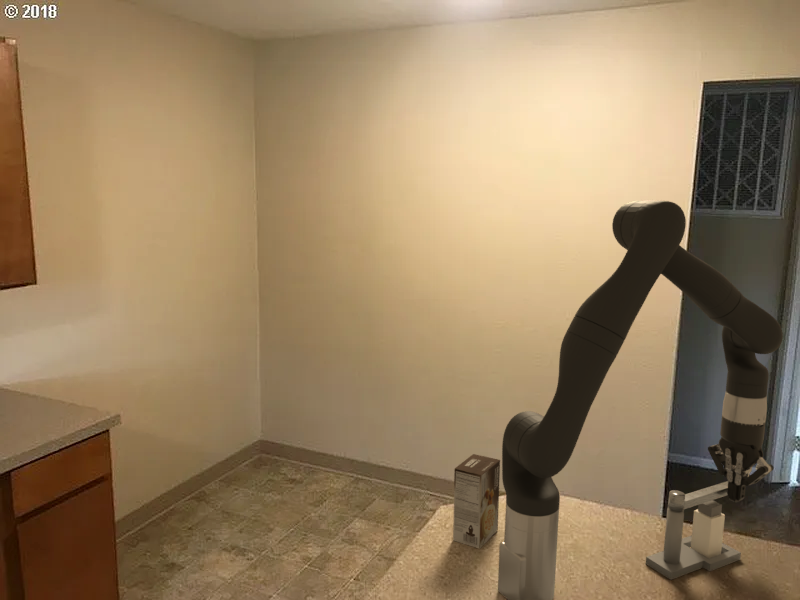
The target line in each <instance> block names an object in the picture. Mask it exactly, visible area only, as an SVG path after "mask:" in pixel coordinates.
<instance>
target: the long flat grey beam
mask: <svg viewBox="0 0 800 600" xmlns="http://www.w3.org/2000/svg"><path fill="white" fill-rule="evenodd" d="M727 489H728V480H727V481H723V482H720V483H718V484H714V485H711V486H708V487H705V488H701V489H698V490H695V491H692V492H689V493H684V492H683V491H680V490H676V489H675V490H674V489H673V490H670V491H669V494H668V501H667V502H668V504H667V508H669V509H670V510H672V511H675V512H682V511H684V512H685V510H686V509H690V508H692V507H695V506H698V505H699V504H702V503H705V502H708V501H711V500H713V501H715V500H717V499H720V498H722V497H723V498H724V497H726V496H728V495H727Z"/></svg>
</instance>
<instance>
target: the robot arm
mask: <svg viewBox="0 0 800 600" xmlns="http://www.w3.org/2000/svg"><path fill="white" fill-rule="evenodd" d="M686 222H687V220H686V216H685V213H684V211H683V208H682V207H681V206H680V205H678V203H675V202H673V201H669V200H662V199H661V200H659V199H656V200H653V199H652V200H651V199H650V200H649V199H647V200H646V199H644V200H642V199H641V200H633V201H630V202H626V203H625V204H623V205H622V206H620V207H619V209H618V210H616V212H615V214H614V216H613V219H612V225H611V226H612V227H611V228H612V233H613V236H614V238H615V240H616V241H617V243H618V244H619V245H620V246H621V247H622V248H624V249H625V250H626V252H625V255H624V256H623V259H622V261H620V263H619V265H618V267H617V268H616V270H615V271H614V272H613V273H612V274H611V276H609V278H607V280H605V282H603V284H601V285H600V286H599V287H598V288H596V289H595V290H594V291H593V293H591V294H590V295H589V296H588V297H587V298H586V299H585V300H584V302H583V303H582V304H581V305H580V306H579V308H578V310H577V311H576V312H575V315H574V316H573V318H572V321H571V322H570V324H569V326H568V328H567V330H566V332H565V334H564V337H563V338H562V341H561V345H560V351H559V362H558V377H557V386H556V389H555V393H554V396H553V397H552V400H551V402H550V405H549V406H548V409H547V410H546V412H545V415H544V416H543V415H542V414H540V413H538V412H537V411H536V412H535V411H531V410H526V411H521V412H519V413H516V414H515V415H514V416H513V417H512V418H511V419H510V420H509V422H508V423H507V424H506V427H505V429H504V431H503V436H502V445H501V447H502V448H501V450H502V451H501V454H502V455H501V463H502V464H501V465H502V467H501V470H502V473H501V477H502V485H503V488H504V492H505V516H504V517H505V518H504V519H505V520H504V539H503V540H504V541H502V542H499V546H498V547H499V552H498V554H499V555H498V571H497V572H498V574H497V575H498V576H497V577H498V578H497V591H498V592H499V593H500V594H501V595H502V596H503V597H505V599H507V600H554V599H555V598H554V597H555V587H556V569H557V553H558V551H557V549H558V537H559V534H558V532H559V519H560V518H559V516H560V503H561V502H560V501H561V500H560V491H559V489H558V487H557V485H556V484H555V482H554V480H553V477H554V476H556V475H557V474H559V473H560V472H561V471H562V470H563V469H564V468H565V466H567V464H568V462H569V460H570V459H571V457H572V455H573V452H574V450H575V448H576V446H577V442H578V440H579V437H580V436H581V432H582V430H583V428H584V424H585V422H586V420H587V417H588V414H589V412H590V409H591V406H592V405H593V404H594V401H595V399H596V397H597V396H598V393H599V391H600V388H601V386H602V384H603V382H604V380H605V378H606V376H607V374H608V372H609V371H610V369H611V366H612V364H613V363H614V362H615V360H616V358H617V356H618V354H619V352H620V350H621V348H622V346H623V345H624V343H625V340H626V339H627V337H628V335H629V334H628V333H629V331H630V330H631V328H632V326H633V323H634V322H635V321H636V319H637V316H638V315H639V312H640V311H641V308H642V307H643V306H644V304H645V301H646V299H647V298H648V295H649V294H650V291H651V290H652V288H653V286H655V284H656V282H657V280H658V279H659V277H660V276H661V275H662V276H663V277H665V278H666V279H667V280H668V281H669V282H671V283H672V284H673V285H674V286H675V287H676V288H678V289H679V290H680V291H681V292H682V293H683V294H684V295H685V296H686V297H687V298H689V300H690V301H692V303H694V305H696V307H698V308H699V309H700V310H701V312H703V314H705V315H706V316H707V317H708V318H709V319H710V320H711V321H713V322H714V323H715V324H717V325H720V326H722V329H721V341H722V342H721V343H722V347H723V348H722V349H723V353H724V358H725V365H726V369H727V375H726V385H725V393H724V398H723V402H722V412H721V423H720V433H719V434H720V436H721V437H720V439H719V441H718V443H716V444H713V445H709V446H708V447H707V451H708V453H709V455H710V457H711V460H712V461H713V463H714V465H715V467H716V469H717V471H718V473H719V475H720V476H724V477H725V478H726V479H727V481H728V489H727V496H728V500H729V501H732V502H733V503H734V502H735V503H739V502H741V501H742V500H744V499H745V498H746V488H747V487H749V486H751V485H754V484H757V483H758V482H760V481H761V480H763V478H765V477H766V476H767V475H769V474H770V473H771V472H772V471H773V470H774V469H775V467H774V465H773V464H770V463H768V462H767V461H766V460H765V458H764V452H763V443H764V439H765V430H766V429H765V428H766V422H767V411H768V404H767V403H768V402H767V397H768V396H767V395H768V385H769V369H768V368H767V367H766V365H764V364H762V363H761V362H760V361H759V360H758V358H757V357H756V356H757V355H756V354H758V355H768V354H769V355H770V354H771V353H773V352H775V351H777V350H778V349H779V348H780V347H781V345H782V343H783V338H784V335H783V334H784V333H783V330H782V327H781V325H780V323H779V322H778V320H777V319H776V318H775V317H774V316H772V315H771V314H770V313H769V312H768V311H766V310H764V309H763V308H762V307H761V306H758V304H756V303H754V302H753V301H752V300H750V299H748V298H747V297H746V296H744V295H743V293H742V292H741V291H739V289H738V288H737V287H736V286H735V285H734V284H733V283H732V282H731V281H730V280H729V279H728V278H727V277H726V276H725V275H724V274H723V273H721V272H720V271H718V269H716V268H714V267H713V266H711V264H708V263H707V262H705V261H704V260H702V259H700V258H699V257H697V256H695V255H694V254H693V253H690V252H689V251H688V250H687V249H685V248H684V247H683V246H681V245H680V244H681V243H682V240H683V238H684V235H685V231H686V227H687V226H686V225H687V223H686ZM755 465H756V466H755ZM754 466H755V471H754V472H753V471H752V470H753V467H754ZM751 472H752V473H751Z"/></svg>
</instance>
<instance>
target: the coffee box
mask: <svg viewBox="0 0 800 600" xmlns="http://www.w3.org/2000/svg"><path fill="white" fill-rule="evenodd" d="M500 466H501V460H500V459H499V458H493V457H489V456H485V455H481V454H475V453H473V454H472V455H470V456H469V457H468V458H466V459H465V460H463V462H461V463H459V464H458V465H457V466H456V467H455V468H454V472H453V473H454V475H453V477H454V478H453V481H454V483H453V485H454V486H453V532H452V533H453V535H452V540H453V541H454V542H457V543H460V544H464V545H467V546H470V547H473V548H477V549H479V550H480V549H481V548H482V547H483V546H484V545H485V544H486V543H487V542H488V541H489V540H490V539H491V537H493V535H494V534H495V533H496V532H497V531H498V529H499V507H500V506H499V503H500V502H499V499H500V472H501V469H500V468H501V467H500Z"/></svg>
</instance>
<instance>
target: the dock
mask: <svg viewBox="0 0 800 600" xmlns="http://www.w3.org/2000/svg"><path fill="white" fill-rule="evenodd" d="M684 518H685V510H684V511H682V512H675V511H672V510H670V509H669V508H668V507H667V509H666V519H665V520H666V521H665V531H664V532H665V533H664V541H663V550H662V551H658V552H656V553H653V554H651V555H647V556H645V565H647V566H648V567H650V568H652V569H653V570H655V571H656V572H658V573H659V574H661V575H662V576H664V577H666V578H667V579H669V580H674V579H676V578H680V577H681V576H685V575H687V574H691V573H692V572H695V571H698V570H700V569H705V570H707V571H708V572H712V571H714V570H717V569H719V568H723V567H724V566H727V565H729V564H732V563H735V562H737V561H740V560H741V556H742V552H741V551H739V550H737V549H736V548H733V547H732V546H730V545H727V544H726V543H724V542H722V549H721V554H719V555H717V556H714V557H711V558H707V557H706V556H704V555H702V554H700V553H699V552H697V551H695V550H693V549H692V548H690V547H691V538H692V534H691V535H688V536H685V537H683V529H684V520H685V519H684Z"/></svg>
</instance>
